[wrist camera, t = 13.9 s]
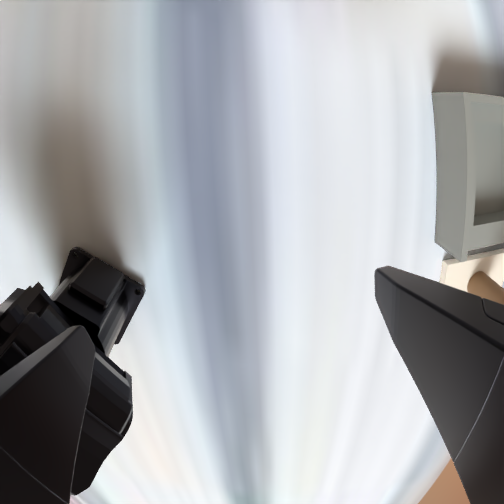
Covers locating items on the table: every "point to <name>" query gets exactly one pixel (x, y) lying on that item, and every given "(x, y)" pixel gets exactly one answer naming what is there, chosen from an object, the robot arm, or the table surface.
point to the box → (469, 171)
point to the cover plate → (471, 266)
